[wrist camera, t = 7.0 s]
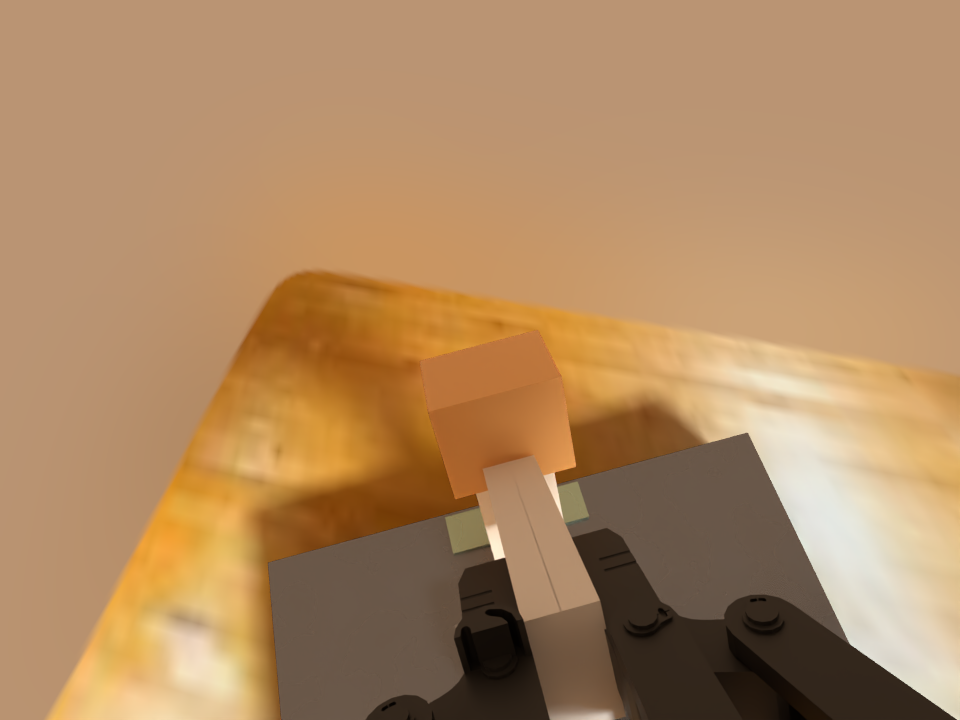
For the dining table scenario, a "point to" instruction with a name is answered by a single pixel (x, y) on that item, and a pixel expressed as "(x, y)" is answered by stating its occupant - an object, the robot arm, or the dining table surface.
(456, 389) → the lever
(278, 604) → the box
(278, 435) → the dining table surface
